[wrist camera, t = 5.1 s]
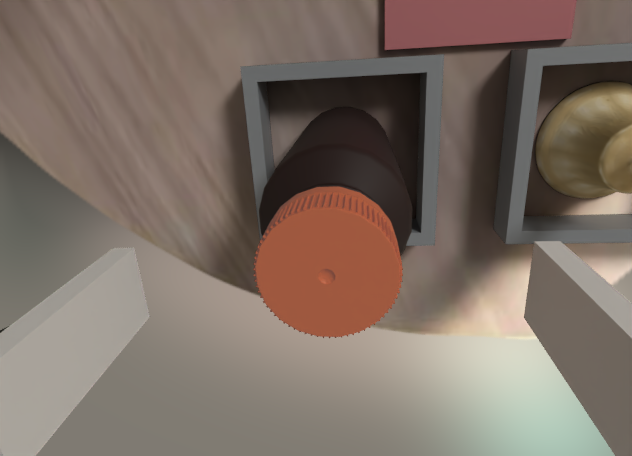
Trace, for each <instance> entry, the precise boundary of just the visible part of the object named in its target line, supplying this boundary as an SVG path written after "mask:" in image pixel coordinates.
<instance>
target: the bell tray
mask: <svg viewBox="0 0 632 456" xmlns="http://www.w3.org/2000/svg"><path fill="white" fill-rule="evenodd" d="M619 61H632V43H622V44H606V45H589V46H573V47H556V48H540V49H523V50H512V51H511V61H510V71H509V81H508V90H507V100H506V110H505V120H504V130H503V139H502V149H501V159H500V169H499V179H498V188H497V198H496V208H495V218H494V228H493V229H494V230H495V232H496V233H497V234H498V235H499V237H500V238H501V239H502V240H503V242H504V243H505V244H534V241H561V242H562V243H624V242H632V214H610V215H564V216H524V210H525V202H526V194H527V186H528V179H529V171H530V163H531V155H532V147H533V140H534V132H535V124H536V116H537V108H538V101H539V93H540V85H541V77H542V69H543V66H548V65H566V64H584V63H601V62H619Z"/></svg>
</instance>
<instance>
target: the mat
mask: <svg viewBox="0 0 632 456" xmlns="http://www.w3.org/2000/svg"><path fill="white" fill-rule="evenodd" d="M576 1H577V0H385V20H384V50H394V49H410V48H426V47H443V46H459V45H475V44H491V43H507V42H523V41H539V40H555V39H570V38H571V35H572V28H573V21H574V14H575V7H576Z"/></svg>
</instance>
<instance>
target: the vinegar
mask: <svg viewBox="0 0 632 456" xmlns="http://www.w3.org/2000/svg"><path fill="white" fill-rule="evenodd" d="M259 218H260V228H261V234H262V236H263V237H262V238H261V240H260V243H259V245H258V247H257V248H258V249H257V251H256V256H255V258H254V259H256V260H255V262H254V265H255V267H254V269H253V270H254V271H255V273H254V276H256V279H255V282H257V285H256V287H258V288H259V290H258V292H259V293H260V292H261V297H260V298H263V299H264V301H263V302H264V303H266V305H267V307H269V308H270V309H271V310H270V311H271V312H272V311H273V312H274V313H275V315H274V316H277V317H278V318H279V320H282V321H283V322H284V323H287V324H288V325H289V327H290V326H292V327H293V328H294V329H297V330H298V331H299V332H301V331H302V332H305V334H306V333H309V334H311V335H316V336H317V337H318V336H323V338H324V336H329V338H330V337H335V338H336V337H342V336H344V335H347V336H348V334H353V335H354V333H356V332H358V333H359V332H360V331H362V330H364V331H365V328H367V327H369V328H370V325H372V324H374V325H375V322H377V321H380V318H381V317H384V314H385V312H386V313H388V309H389V308H390V309H392V304H395V300H394V299H397V293H400V292H399V288H401V283H400V282H402V277H401V276H403V274H402V270H403V269H402V261H401V257H400V256H401V255H402V254H403V252H404V250H405V247H406V245H407V242H408V239H409V237H410V234H411V232H412V204H411V201H410V197H409V194H408V191H407V188H406V185H405V182H404V179H403V177H402V174H401V171H400V169H399V166H398V164H397V161H396V158H395V156H394V153H393V150H392V148H391V145H390V143H389V140H388V137H387V135H386V132H385V130H384V129H383V128H382V126H381V125H380V124H379V122H378V121H377V120H376V119H375V118H374V117H372V116H371V115H369V114H368V113H366V112H365V111H362V110H359V109H355V108H352V107H339V108H333V109H331V110H328V111H326V112H323V113H321V114H320V115H319V116H317V117H316V118H315V119H314V120H313V121H311V122H310V124H309V125H308V126H307V128H306V129H305V130H304V132H303V133H302V134H301V136H300V137H299V138H298V140H297V141H296V142H295V144H294V145H293V147H292V148H291V149H290V151H289V152H288V153H287V155H286V156H285V157H284V159H283V160H282V161H281V163H280V164H279V165H278V167H277V168H276V170H275V171H274V173H273V174H272V176H271V178H270V179H269V181H268V182H267V184H266V185H265V187H264V191H263V195H262V199H261V203H260V208H259Z"/></svg>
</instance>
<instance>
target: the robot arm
mask: <svg viewBox="0 0 632 456" xmlns="http://www.w3.org/2000/svg"><path fill="white" fill-rule="evenodd" d="M149 317H150V316H149V312H148V307H147V303H146V298H145V294H144V289H143V285H142V280H141V276H140V271H139V267H138V263H137V258H136V254H135V249H134V248H113V249H111V250H110V251H109V252H107V253H106V254H105V255H104V256H102V257H101V258H99V259H98V260H97V261H95V262H94V263H93V264H92V265H90V266H89V267H87V268H86V269H85V270H83V271H82V272H81V273H79V274H78V275H77V276H75V277H74V278H73V279H72V280H70V281H69V282H68V283H66V284H65V285H63V286H62V287H61V288H59V289H58V290H57V291H55V292H54V293H53V294H51V295H50V296H49V297H48V298H46V299H45V300H44V301H42V302H41V303H40V304H38V305H37V306H36V307H34V308H33V309H32V310H30V311H29V312H28V313H26V314H25V315H24V316H22V317H21V318H20V319H18V320H17V321H16V322H14V323H13V324H12V325H10V326H8V327H6V328H4V329H2V330H0V456H36V454H37V453H38V452H39V451H40V449H41V448H42V447H43V446H44V445H45V444H46V442H47V441H48V440H49V439H50V437H51V436H52V435H53V434H54V433H55V431H56V430H57V429H58V428H59V426H60V425H61V424H62V423H63V422H64V420H65V419H66V418H67V417H68V416H69V414H70V413H71V412H72V410H73V409H74V408H75V407H76V406H77V405H78V403H79V402H80V401H81V400H82V399H83V397H84V396H85V395H86V394H87V392H88V391H89V390H90V389H91V388H92V386H93V385H94V384H95V383H96V382H97V380H98V379H99V378H100V377H101V375H102V374H103V373H104V372H105V371H106V369H107V368H108V367H109V366H110V365H111V363H112V362H113V361H114V360H115V358H116V357H117V356H118V355H119V354H120V352H121V351H122V350H123V349H124V347H125V346H126V345H127V344H128V343H129V341H130V340H131V339H132V338H133V337H134V335H135V334H136V333H137V332H138V330H139V329H140V328H141V327H142V325H143V324H144V323H145V322H146V321H147V319H148V318H149ZM524 318H525V320H526V321H527V323H528V324H529V326H530V327H531V329H532V330H533V332H534V333H535V335H536V336H537V338H538V339H539V341H540V342H541V344H542V345H543V347H544V348H545V350H546V351H547V353H548V355H549V356H550V357H551V359H552V361H553V362H554V363H555V365H556V366H557V368H558V370H559V371H560V373H561V374H562V376H563V377H564V379H565V380H566V382H567V383H568V385H569V386H570V388H571V389H572V391H573V392H574V394H575V395H576V397H577V398H578V400H579V401H580V403H581V404H582V406H583V407H584V409H585V411H586V412H587V414H588V415H589V417H590V418H591V420H592V421H593V423H594V424H595V426H596V427H597V429H598V430H599V432H600V433H601V435H602V436H603V438H604V439H605V441H606V442H607V444H608V445H609V447H610V448H611V450H612V451H613V453H614V454H615V456H632V303H631V302H630V301H629V300H628V299H626V298H625V297H624V296H623V295H622V294H621V293H620V292H618V291H617V290H616V289H615V288H614V287H613V286H612V285H610V284H609V283H608V282H607V281H606V280H605V279H603V278H602V277H601V276H600V275H599V274H598V273H597V272H595V271H594V270H593V269H592V268H591V267H590V266H588V265H587V264H586V263H585V262H584V261H583V260H582V259H580V258H579V257H578V256H577V255H576V254H575V253H573V252H572V251H571V250H570V249H569V248H568V247H567V246H565V245H564V244H563V243H562V242H561V241H534V248H533V255H532V262H531V270H530V277H529V285H528V292H527V299H526V307H525V314H524Z"/></svg>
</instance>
